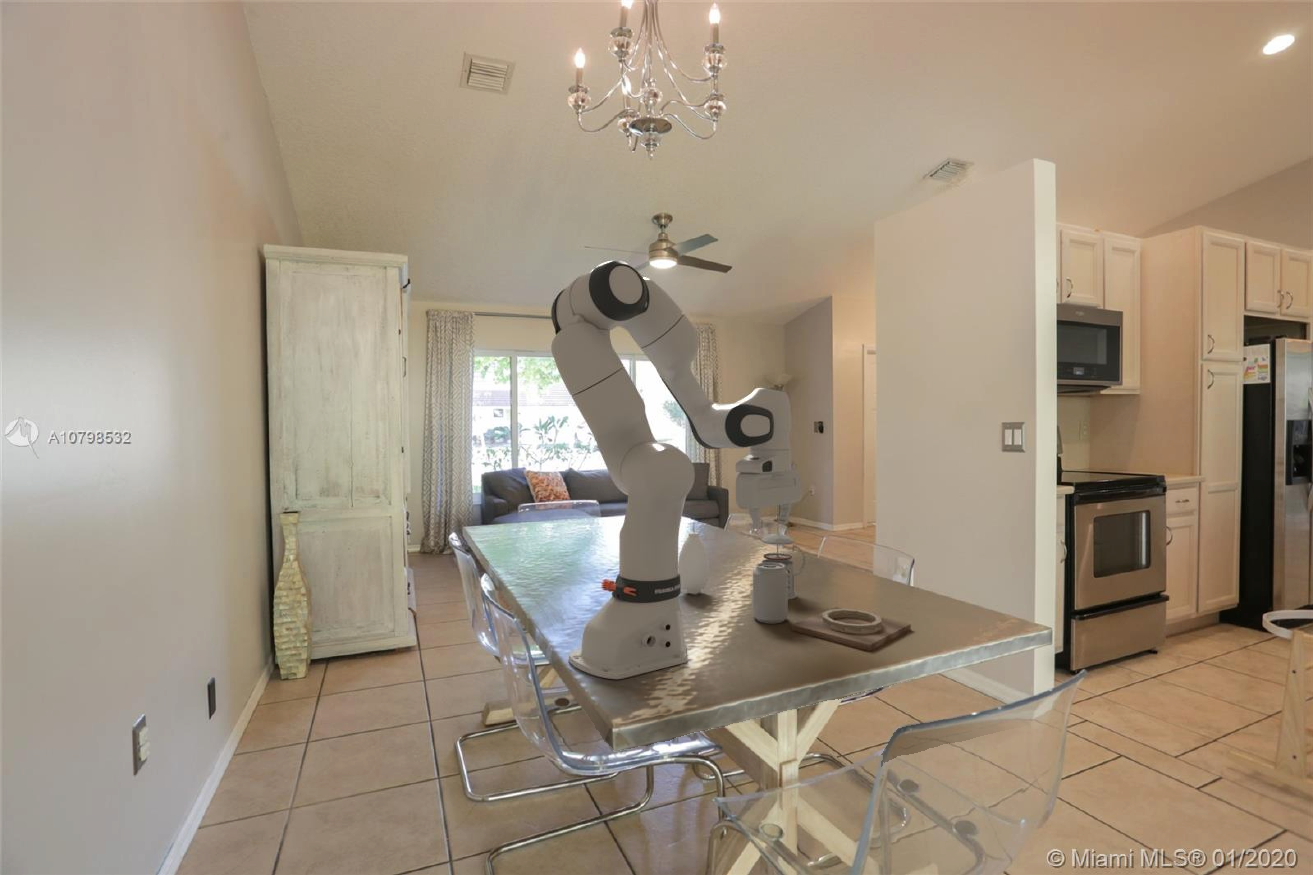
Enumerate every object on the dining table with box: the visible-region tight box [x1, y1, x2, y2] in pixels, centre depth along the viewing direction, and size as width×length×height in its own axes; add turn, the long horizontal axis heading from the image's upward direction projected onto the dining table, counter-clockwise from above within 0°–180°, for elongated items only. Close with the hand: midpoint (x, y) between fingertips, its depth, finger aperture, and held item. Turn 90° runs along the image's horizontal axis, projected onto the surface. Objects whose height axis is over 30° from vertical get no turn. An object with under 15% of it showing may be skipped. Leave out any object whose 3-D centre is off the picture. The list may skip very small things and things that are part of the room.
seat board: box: [791, 606, 912, 652], centre depth 129 cm, size 18×17×3 cm
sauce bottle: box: [678, 522, 710, 595], centre depth 157 cm, size 8×8×18 cm
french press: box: [761, 506, 806, 600], centre depth 156 cm, size 10×12×25 cm
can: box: [752, 562, 789, 625], centre depth 136 cm, size 8×8×12 cm
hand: (770, 526), depth 136 cm, fingers open, 8 cm apart
